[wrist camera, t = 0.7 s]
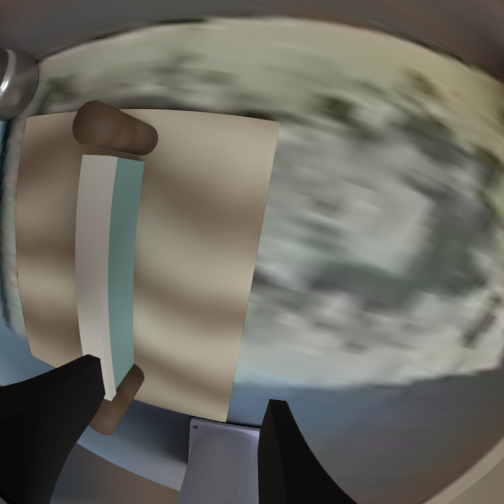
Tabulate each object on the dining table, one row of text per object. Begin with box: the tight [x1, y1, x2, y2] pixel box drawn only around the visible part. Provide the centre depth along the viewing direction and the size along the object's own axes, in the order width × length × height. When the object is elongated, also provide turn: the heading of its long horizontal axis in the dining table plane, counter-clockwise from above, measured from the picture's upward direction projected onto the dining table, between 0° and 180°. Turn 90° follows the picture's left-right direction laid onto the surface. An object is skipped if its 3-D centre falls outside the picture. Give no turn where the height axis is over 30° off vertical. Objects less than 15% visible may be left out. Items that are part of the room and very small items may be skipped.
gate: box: [75, 155, 145, 401], centre depth 15 cm, size 14×2×4 cm, turn 170°
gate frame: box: [16, 101, 280, 435], centre depth 15 cm, size 22×20×7 cm
